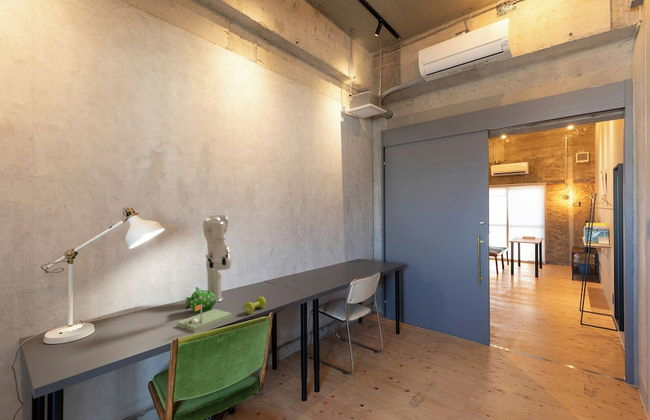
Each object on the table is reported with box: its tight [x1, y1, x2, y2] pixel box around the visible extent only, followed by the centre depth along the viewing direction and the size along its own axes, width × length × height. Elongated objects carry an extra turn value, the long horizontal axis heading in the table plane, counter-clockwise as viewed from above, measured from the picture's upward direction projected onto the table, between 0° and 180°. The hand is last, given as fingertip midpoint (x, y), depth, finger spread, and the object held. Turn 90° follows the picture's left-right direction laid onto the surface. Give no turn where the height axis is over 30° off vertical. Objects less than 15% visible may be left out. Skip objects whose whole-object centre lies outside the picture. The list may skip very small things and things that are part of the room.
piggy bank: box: [185, 286, 216, 315], centre depth 196 cm, size 14×18×15 cm
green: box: [176, 304, 233, 333], centre depth 178 cm, size 16×26×14 cm, turn 149°
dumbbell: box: [243, 296, 267, 315], centre depth 198 cm, size 16×8×7 cm, turn 154°
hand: (217, 266), depth 194 cm, fingers open, 9 cm apart
